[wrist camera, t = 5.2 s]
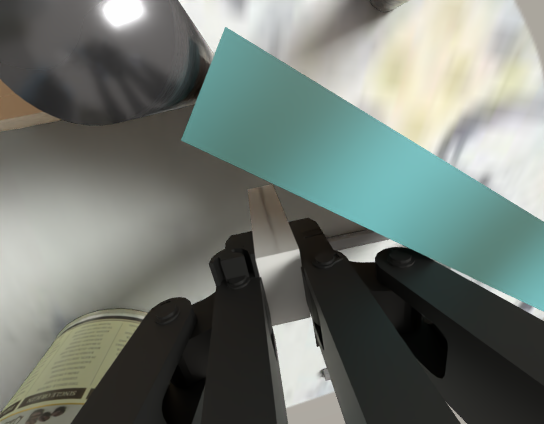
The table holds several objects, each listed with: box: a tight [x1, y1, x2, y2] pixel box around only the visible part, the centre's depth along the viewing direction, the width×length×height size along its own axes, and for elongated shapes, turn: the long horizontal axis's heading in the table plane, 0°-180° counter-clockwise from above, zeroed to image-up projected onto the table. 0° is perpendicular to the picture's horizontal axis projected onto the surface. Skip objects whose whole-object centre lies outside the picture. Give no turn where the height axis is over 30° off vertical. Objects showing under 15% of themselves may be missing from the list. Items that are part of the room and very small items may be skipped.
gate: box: [181, 27, 544, 311], centre depth 11 cm, size 14×2×10 cm, turn 62°
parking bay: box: [323, 229, 472, 380], centre depth 20 cm, size 10×14×3 cm
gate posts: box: [0, 0, 409, 132], centre depth 8 cm, size 20×4×12 cm, turn 100°
